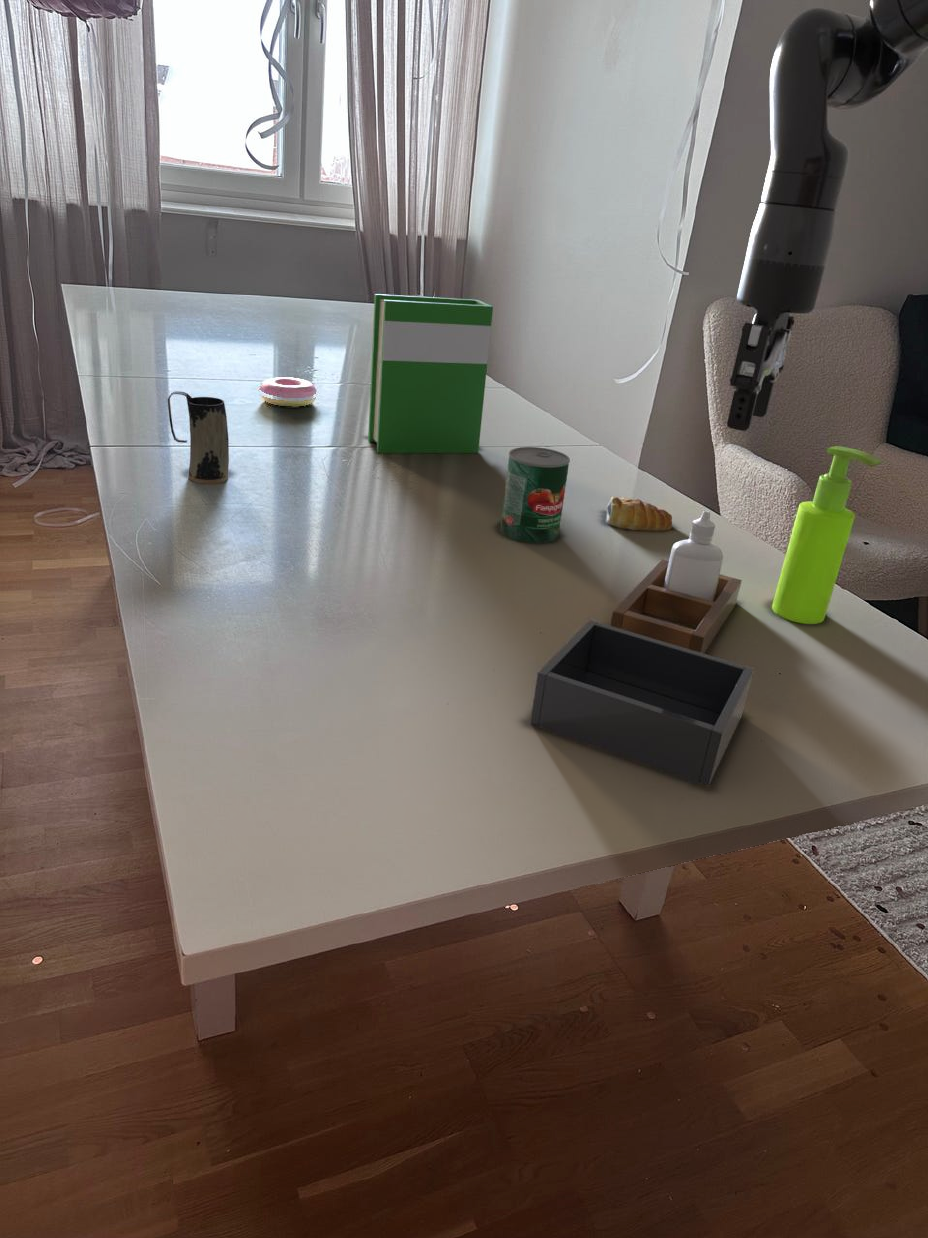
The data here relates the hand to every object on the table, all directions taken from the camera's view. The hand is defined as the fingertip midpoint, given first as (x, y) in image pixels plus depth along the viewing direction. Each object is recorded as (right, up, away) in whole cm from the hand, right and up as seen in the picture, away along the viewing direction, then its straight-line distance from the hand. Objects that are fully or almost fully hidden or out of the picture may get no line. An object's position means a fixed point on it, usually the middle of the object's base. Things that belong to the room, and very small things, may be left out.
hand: (746, 421), depth 94 cm
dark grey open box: (-14, -30, -15) cm, 37 cm away
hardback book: (-37, +9, +60) cm, 71 cm away
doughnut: (-64, +21, +79) cm, 104 cm away
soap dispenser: (+9, -21, +9) cm, 25 cm away
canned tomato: (-21, -10, +26) cm, 35 cm away
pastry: (-6, -8, +33) cm, 35 cm away
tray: (-6, -21, +5) cm, 23 cm away
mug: (-68, -1, +34) cm, 76 cm away
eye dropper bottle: (-5, -20, +8) cm, 22 cm away
